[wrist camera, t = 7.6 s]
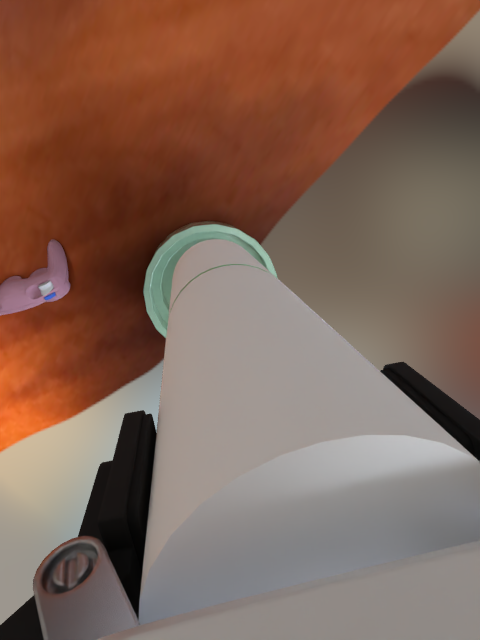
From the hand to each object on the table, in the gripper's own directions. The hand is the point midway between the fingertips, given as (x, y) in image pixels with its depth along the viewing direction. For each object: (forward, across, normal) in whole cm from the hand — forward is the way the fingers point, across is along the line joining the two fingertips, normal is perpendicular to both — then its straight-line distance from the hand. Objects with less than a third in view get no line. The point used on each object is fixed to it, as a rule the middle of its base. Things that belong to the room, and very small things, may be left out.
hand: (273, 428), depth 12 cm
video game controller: (+35, +20, -1) cm, 40 cm away
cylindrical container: (+20, 0, 0) cm, 20 cm away
